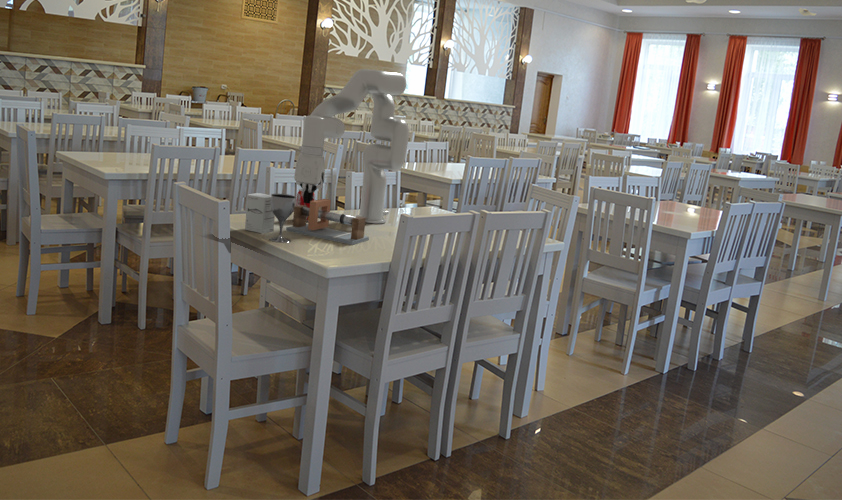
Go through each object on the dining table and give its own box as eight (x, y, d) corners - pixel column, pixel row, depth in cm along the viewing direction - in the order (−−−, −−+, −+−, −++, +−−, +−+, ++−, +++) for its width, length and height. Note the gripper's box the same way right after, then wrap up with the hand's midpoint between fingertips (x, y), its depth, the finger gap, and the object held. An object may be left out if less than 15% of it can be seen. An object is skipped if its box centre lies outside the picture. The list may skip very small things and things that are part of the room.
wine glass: (270, 242, 218) (273, 197, 215) (265, 237, 225) (269, 193, 222) (294, 243, 222) (298, 198, 218) (289, 237, 229) (292, 194, 225)
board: (286, 230, 239) (286, 227, 239) (304, 226, 250) (304, 223, 250) (352, 244, 229) (352, 241, 229) (368, 240, 240) (369, 236, 240)
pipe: (297, 215, 241) (298, 206, 240) (302, 214, 244) (303, 205, 244) (356, 227, 233) (356, 217, 232) (360, 226, 236) (361, 216, 235)
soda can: (309, 223, 257) (311, 192, 255) (291, 220, 258) (294, 189, 256) (315, 220, 264) (318, 190, 261) (298, 217, 265) (301, 187, 263)
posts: (292, 229, 242) (294, 206, 240) (300, 227, 247) (301, 205, 245) (356, 243, 233) (358, 219, 231) (363, 241, 237) (365, 217, 235)
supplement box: (244, 230, 232) (246, 194, 229) (256, 227, 239) (258, 192, 236) (262, 234, 229) (264, 197, 227) (274, 231, 236) (276, 195, 233)
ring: (307, 229, 237) (310, 201, 234) (322, 225, 246) (325, 198, 243) (313, 230, 236) (316, 202, 233) (328, 226, 245) (330, 199, 243)
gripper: (288, 148, 236) (284, 200, 240) (325, 154, 230) (319, 207, 234) (300, 148, 243) (295, 198, 246) (336, 154, 237) (331, 205, 241)
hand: (307, 202), depth 240 cm, fingers closed
